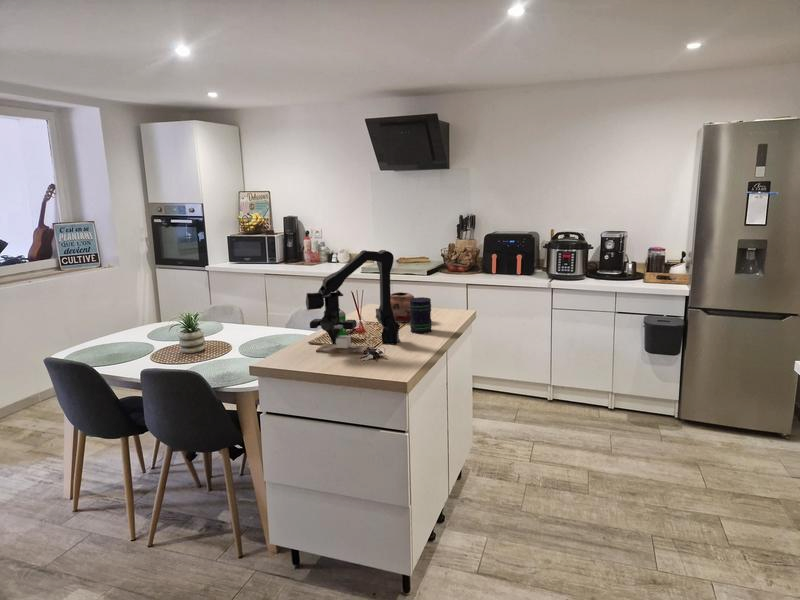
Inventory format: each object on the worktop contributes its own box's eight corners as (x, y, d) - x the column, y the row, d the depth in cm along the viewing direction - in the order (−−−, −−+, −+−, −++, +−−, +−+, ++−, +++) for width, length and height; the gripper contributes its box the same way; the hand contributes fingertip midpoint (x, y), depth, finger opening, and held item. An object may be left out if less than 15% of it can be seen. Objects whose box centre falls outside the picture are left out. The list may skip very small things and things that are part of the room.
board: (368, 348, 231) (368, 345, 231) (362, 354, 223) (362, 351, 223) (324, 346, 236) (324, 343, 236) (316, 352, 228) (315, 349, 228)
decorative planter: (376, 322, 275) (375, 294, 273) (386, 316, 287) (385, 290, 284) (414, 324, 268) (413, 296, 265) (422, 319, 279) (421, 291, 276)
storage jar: (432, 328, 260) (431, 297, 257) (431, 333, 250) (430, 301, 247) (411, 328, 261) (410, 297, 258) (409, 334, 251) (408, 301, 248)
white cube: (350, 345, 231) (350, 335, 230) (347, 348, 226) (346, 338, 226) (340, 344, 232) (340, 335, 231) (336, 347, 228) (336, 338, 227)
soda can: (326, 338, 248) (324, 312, 246) (336, 334, 255) (334, 309, 252) (340, 340, 245) (339, 313, 243) (349, 336, 251) (348, 310, 249)
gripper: (302, 311, 222) (305, 348, 225) (347, 312, 217) (349, 350, 220) (313, 305, 232) (316, 341, 235) (356, 306, 228) (357, 342, 231)
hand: (334, 344), depth 230 cm, fingers closed
